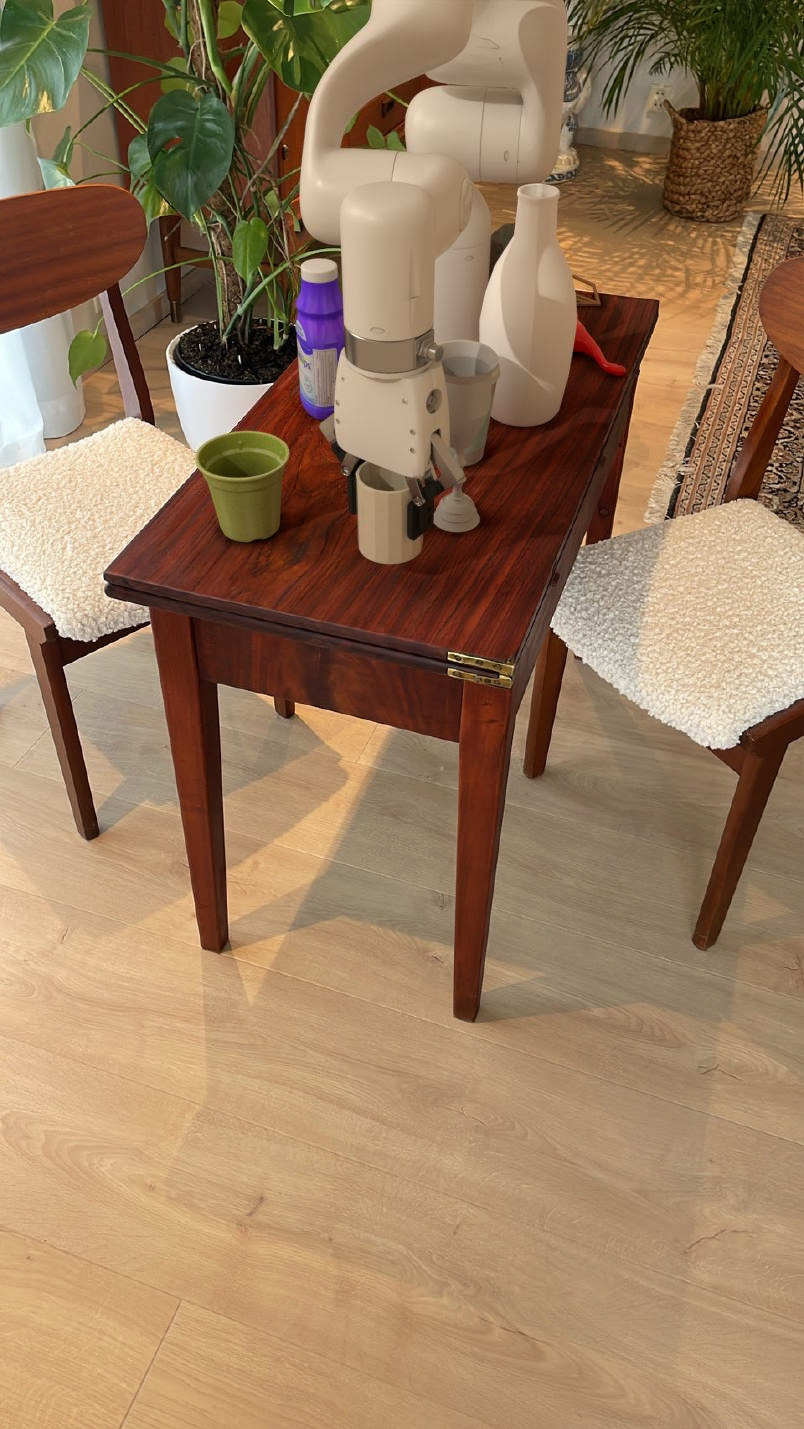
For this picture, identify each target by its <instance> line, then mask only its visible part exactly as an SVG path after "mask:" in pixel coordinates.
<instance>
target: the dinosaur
mask: <svg viewBox="0 0 804 1429" xmlns="http://www.w3.org/2000/svg"><path fill="white" fill-rule="evenodd" d="M577 352H578V353H583V354H587V355H589V356H590V357H592V358H593V359H594V360H595V362H596V363H597V364H598V365H599V366H600V368H601V369H602V370H604V371H605V372H607V373H609V374H610V375H613V376H616V377H623V376H624V375H625V374H626V372H627V369H626V367H625V366H624V365H622V364H619V365H618V364H617V363H613V362H609V361H608V360H607V359H606V357H605V355H604V353H603V351H602V349H601V348H600V346H599V345H598V344H597V343H596V341H595V340H594V338H593V337H592V336H591V335H590V333H589V332H588V330H587V329H586V327H585V326H584V324H583V323H582V322H581V321H580V320H579V314H578V313H577V326H576V333H575V339H574V346H573V352H572V353H577Z"/></svg>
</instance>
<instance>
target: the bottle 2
mask: <svg viewBox="0 0 804 1429" xmlns="http://www.w3.org/2000/svg"><path fill="white" fill-rule="evenodd" d="M516 195H517V207H516V214H515V215H516V217H515V222H514V223H515V231H514V236H513V237H512V239H511V241H510V242H509V244H508V245H507V247H506V249H505V250H504V252H503V253H502V255H501V256H500V258H499V260H498V261H497V263H496V264H495V267H494V270H493V272H492V275H491V278H490V281H489V283H488V286H487V289H486V292H485V296H484V301H483V306H482V311H481V315H480V320H479V342H480V343H483V344H485V345H487V346H489V347H490V348H492V349H493V350H494V351H495V352H496V354H497V355H498V362H499V365H500V372H501V374H500V377H499V379H498V380H497V382H496V388H495V393H494V399H493V404H492V410H491V415H490V418H492V419H493V420H495V421H497V422H498V423H500V424H503V425H507V426H511V427H522V428H526V427H536V426H541V425H544V424H546V423H548V422H549V421H551V420H552V419H553V418H555V416H556V415H557V414H558V413H559V411H560V409H561V406H562V405H561V404H562V401H563V398H564V394H565V390H566V387H567V382H568V378H569V375H570V370H571V364H572V358H573V353H574V352H573V346H574V339H575V333H576V326H577V314H578V310H577V308H578V306H577V305H576V302H577V301H576V288H575V283H574V279H573V278H572V275H573V274H572V269H571V266H570V265H569V262H568V260H567V258H566V255H565V253H564V251H563V249H562V247H561V245H560V242H559V240H558V237H557V228H558V227H557V226H558V206H559V204H558V203H559V199H560V196H561V190H560V189H559V188H558V187H556V186H554V185H551V184H548V183H547V184H546V183H526V184H524V185H521V186H519V187H518V188H517V192H516Z"/></svg>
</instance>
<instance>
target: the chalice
mask: <svg viewBox="0 0 804 1429" xmlns="http://www.w3.org/2000/svg"><path fill="white" fill-rule="evenodd" d="M440 346H442V347H443V349H444V353H443V357H442V359H441V360H440V361H441V364H442V368H443V372H444V376H445V382H446V388H447V396H448V406H449V422H450V447H451V448H454V450H455V454H454V459H455V460H456V462H457V463H458V464H459V466H460V467H461V469H462V470H463V471H464V467H466V466H465V465H466V461H465V460H464V455H463V451H464V449H465V448H468V447H470V446H471V445H472V444H473V442H474V440H475V438H476V437H477V435H478V433H479V432H480V430H481V428H482V426H483V425H484V422H485V420H486V418H487V415H488V413H489V410H490V406H491V390H492V374H493V371H494V369H495V367H496V366H497V364H498V355H497V354H496V352H495V351H493V350H492V349H491V348H489V347H487V346H484V345H482V344H478V343H472V342H452V343H446V344H443V345H440ZM466 481H467V477H466V476H465V475H464V478H463V479H461V480H460V481H459V482H458V483H456V484H455V485H453V486H452V492H450V493H448V494H446V495H444V496H443V497H442V498H441V499H440V500H439V503H438V505H437V507H436V509H435V510H434V522H433V525H435V526H436V527H437V528H438V529H441V530H443V531H446V532H451V533H464V532H469V531H471V530H474V529H475V528H476V527H477V526H478V525H479V523H480V522H481V517H480V515H479V512H478V509H477V508H476V506H475V502H474V500H473V499H472V498H471V497H470V496H469V495H468V494H465V493H464V492H463V489H462V488H463V484H464V483H465V482H466Z"/></svg>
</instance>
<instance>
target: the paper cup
mask: <svg viewBox="0 0 804 1429" xmlns="http://www.w3.org/2000/svg"><path fill="white" fill-rule="evenodd" d="M420 481H421V484H422V487H425V482H424V479H423V477H422V478H420ZM356 499H357V514H356V527H357V528H356V529H357V543H358V544H357V545H358V550H359V552H360V553H361V555H362V556H363V557H364V558H366V559H367V560H369V561H371V562H374V563H377V564H381V565H398V564H403V563H407V562H409V561H411V560H413V559H415V558H417V556H418V555H419V554H420V553H421V552H422V550H423V544H424V533H423V534H422V535H421V536H420V537H418V538H417V539H416V540H414V541H413V540H411V539H408V537H407V505H408V503H409V502H410V501H412V497H411V494H410V491H409V488H408V485H407V482H406V479H405V476H403V475H401V474H398V473H395V472H393V471H390V470H388V469H385V468H383V467H380V466H378V465H375V464H373V463H371V462H368V461H366V462H364V463H363V464H362V465H360V466H359V468H358V470H357V472H356Z"/></svg>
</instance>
